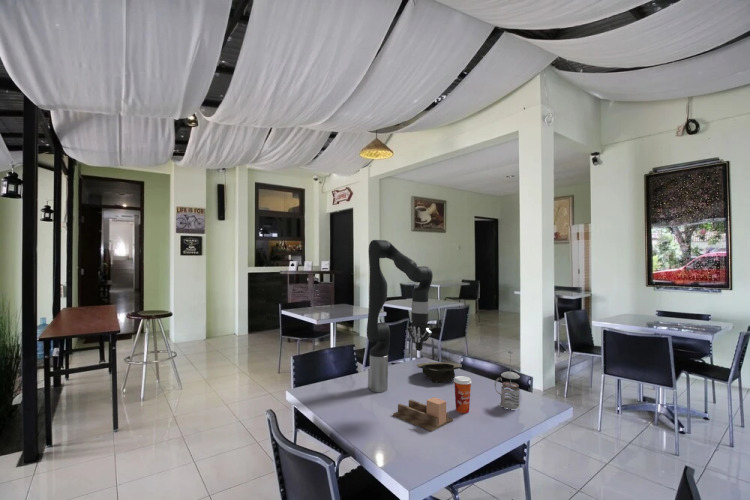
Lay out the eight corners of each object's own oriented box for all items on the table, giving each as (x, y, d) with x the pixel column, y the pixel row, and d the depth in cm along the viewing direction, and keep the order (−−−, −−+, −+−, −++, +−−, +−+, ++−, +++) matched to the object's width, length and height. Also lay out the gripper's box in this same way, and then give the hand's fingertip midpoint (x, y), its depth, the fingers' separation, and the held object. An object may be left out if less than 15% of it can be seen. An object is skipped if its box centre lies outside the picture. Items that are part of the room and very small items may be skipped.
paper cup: (458, 415, 158) (458, 381, 159) (450, 408, 166) (450, 376, 166) (475, 413, 160) (475, 380, 161) (466, 406, 168) (466, 375, 168)
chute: (393, 415, 157) (393, 406, 157) (414, 406, 167) (414, 397, 167) (431, 431, 143) (431, 421, 143) (452, 421, 152) (452, 411, 153)
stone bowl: (443, 388, 191) (442, 369, 192) (407, 380, 209) (406, 363, 210) (471, 377, 208) (469, 360, 208) (435, 371, 226) (434, 355, 227)
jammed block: (426, 420, 150) (426, 400, 150) (434, 416, 154) (434, 397, 154) (438, 425, 146) (438, 404, 146) (446, 421, 149) (446, 401, 150)
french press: (524, 411, 163) (523, 353, 164) (496, 409, 165) (496, 352, 166) (519, 403, 173) (519, 348, 173) (493, 400, 175) (493, 347, 176)
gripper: (403, 310, 169) (402, 348, 169) (426, 314, 159) (425, 355, 159) (414, 308, 174) (413, 346, 174) (437, 312, 164) (436, 352, 164)
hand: (418, 350), depth 166 cm, fingers closed
